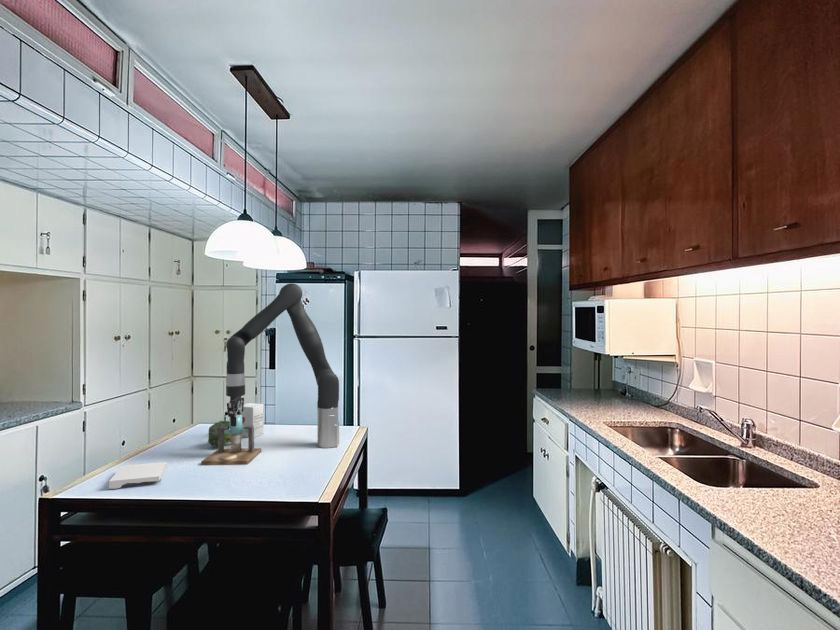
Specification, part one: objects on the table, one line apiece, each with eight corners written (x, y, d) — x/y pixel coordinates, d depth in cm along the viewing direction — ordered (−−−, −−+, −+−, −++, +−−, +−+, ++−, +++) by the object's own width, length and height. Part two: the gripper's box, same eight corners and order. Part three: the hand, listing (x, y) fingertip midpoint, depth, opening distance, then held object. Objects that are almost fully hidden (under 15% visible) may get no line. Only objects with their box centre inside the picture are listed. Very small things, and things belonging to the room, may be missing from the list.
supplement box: (237, 437, 236) (236, 406, 236) (248, 432, 245) (248, 402, 245) (253, 438, 234) (252, 406, 234) (264, 433, 242) (264, 403, 242)
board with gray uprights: (261, 451, 210) (261, 423, 210) (247, 464, 192) (247, 434, 192) (219, 452, 210) (219, 424, 210) (201, 465, 192) (200, 434, 192)
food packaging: (121, 474, 184) (108, 491, 165) (122, 465, 184) (109, 481, 165) (166, 470, 189) (159, 486, 170) (166, 461, 189) (159, 476, 170)
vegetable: (244, 443, 216) (211, 432, 209) (231, 460, 221) (198, 449, 215) (248, 422, 226) (217, 411, 219) (236, 439, 231) (205, 428, 224)
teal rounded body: (249, 431, 208) (248, 413, 208) (245, 434, 203) (244, 416, 203) (227, 431, 208) (227, 414, 208) (222, 434, 203) (222, 416, 203)
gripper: (238, 386, 198) (238, 428, 198) (250, 381, 213) (250, 420, 213) (219, 386, 198) (220, 428, 198) (232, 381, 212) (233, 421, 212)
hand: (235, 424), depth 205 cm, fingers closed on teal rounded body, 5 cm apart
